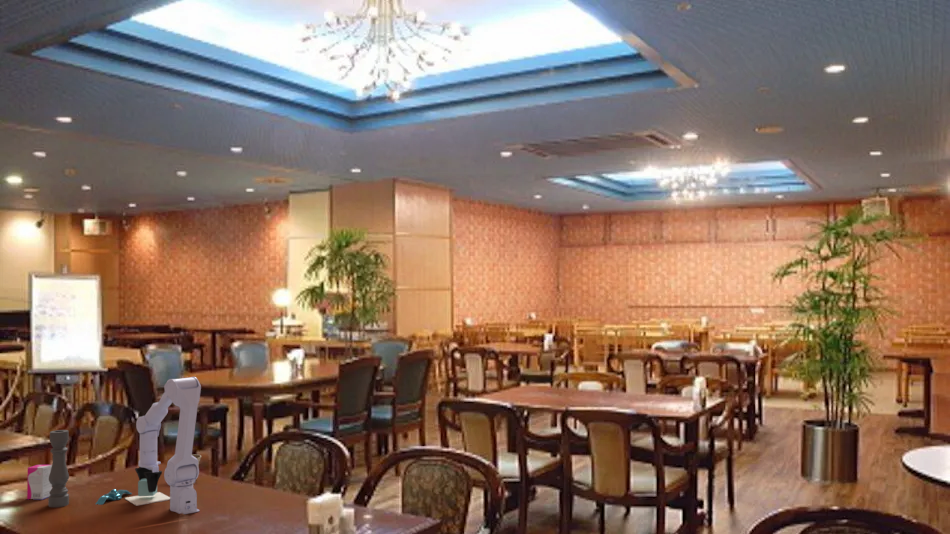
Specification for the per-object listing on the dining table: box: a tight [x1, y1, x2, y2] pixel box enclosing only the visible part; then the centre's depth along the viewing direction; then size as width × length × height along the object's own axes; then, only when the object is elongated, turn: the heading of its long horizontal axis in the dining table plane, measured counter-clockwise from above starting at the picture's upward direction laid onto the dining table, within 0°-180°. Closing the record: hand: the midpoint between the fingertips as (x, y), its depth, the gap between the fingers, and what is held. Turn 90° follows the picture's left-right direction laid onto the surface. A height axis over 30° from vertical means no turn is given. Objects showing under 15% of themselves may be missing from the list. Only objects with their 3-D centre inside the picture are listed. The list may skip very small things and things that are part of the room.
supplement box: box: [26, 464, 52, 501], centre depth 279 cm, size 6×6×12 cm
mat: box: [124, 491, 170, 507], centre depth 277 cm, size 12×12×1 cm
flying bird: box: [95, 488, 133, 506], centre depth 278 cm, size 15×7×4 cm, turn 163°
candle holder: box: [47, 429, 70, 508], centre depth 270 cm, size 6×6×25 cm
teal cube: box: [137, 478, 158, 496], centre depth 277 cm, size 5×5×5 cm
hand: (148, 489), depth 278 cm, fingers closed on teal cube, 7 cm apart
